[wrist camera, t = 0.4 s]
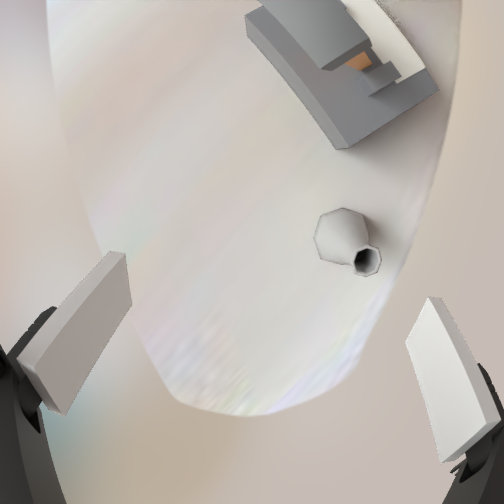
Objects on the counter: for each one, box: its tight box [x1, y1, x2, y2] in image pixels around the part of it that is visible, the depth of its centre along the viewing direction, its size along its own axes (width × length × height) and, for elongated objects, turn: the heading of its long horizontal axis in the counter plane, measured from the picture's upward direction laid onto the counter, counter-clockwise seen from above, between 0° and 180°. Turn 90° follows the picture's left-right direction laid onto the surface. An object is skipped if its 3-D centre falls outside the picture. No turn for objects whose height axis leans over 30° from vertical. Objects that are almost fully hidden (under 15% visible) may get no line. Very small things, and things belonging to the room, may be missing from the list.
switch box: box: [245, 0, 439, 149], centre depth 27 cm, size 14×18×8 cm
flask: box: [314, 208, 382, 277], centre depth 32 cm, size 7×7×10 cm
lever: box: [258, 0, 372, 71], centre depth 17 cm, size 3×7×20 cm, turn 36°
